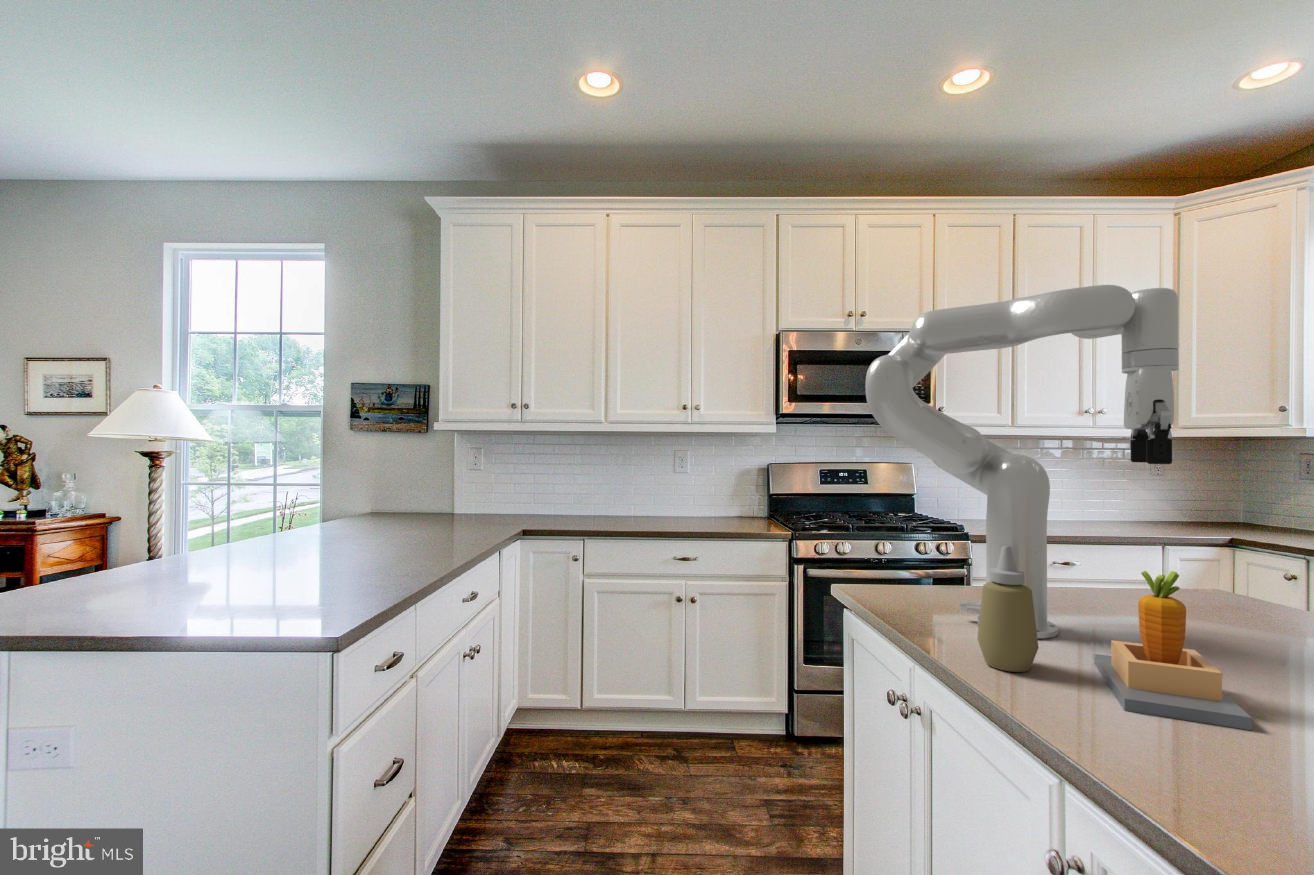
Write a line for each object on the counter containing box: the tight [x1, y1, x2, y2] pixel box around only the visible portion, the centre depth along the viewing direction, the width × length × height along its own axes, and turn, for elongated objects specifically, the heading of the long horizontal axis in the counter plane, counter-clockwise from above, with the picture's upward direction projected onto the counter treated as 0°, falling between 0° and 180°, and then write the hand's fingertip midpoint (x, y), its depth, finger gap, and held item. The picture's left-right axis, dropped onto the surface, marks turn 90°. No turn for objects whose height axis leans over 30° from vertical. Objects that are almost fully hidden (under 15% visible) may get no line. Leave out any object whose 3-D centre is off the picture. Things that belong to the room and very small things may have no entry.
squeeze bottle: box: [977, 546, 1039, 673], centre depth 91 cm, size 8×8×18 cm
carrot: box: [1137, 570, 1187, 665], centre depth 81 cm, size 5×5×15 cm
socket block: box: [1093, 639, 1253, 731], centre depth 81 cm, size 12×18×5 cm, turn 154°
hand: (1150, 463), depth 103 cm, fingers open, 9 cm apart
